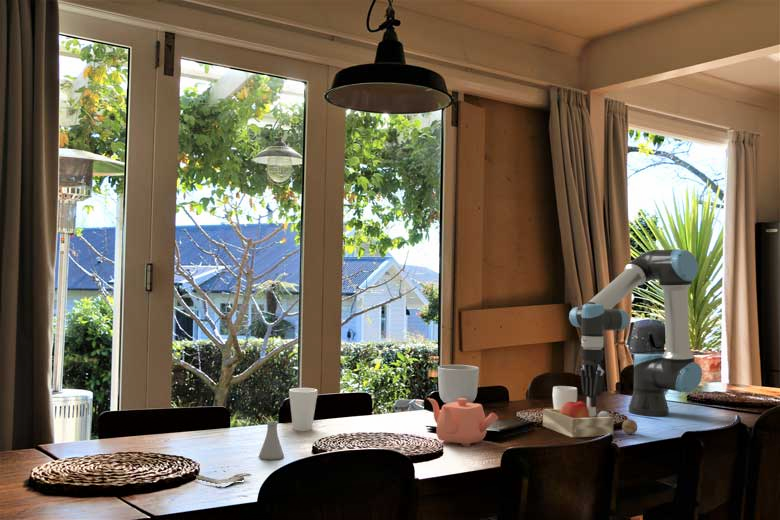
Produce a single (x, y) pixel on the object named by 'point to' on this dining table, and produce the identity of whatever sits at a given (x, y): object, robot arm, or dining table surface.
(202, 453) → the dining table surface
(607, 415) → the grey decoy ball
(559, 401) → the cup
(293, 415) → the foam cup
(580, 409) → the apple
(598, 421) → the beige shallow open box
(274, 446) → the flask
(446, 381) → the planter
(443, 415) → the teapot
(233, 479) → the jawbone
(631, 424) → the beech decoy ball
